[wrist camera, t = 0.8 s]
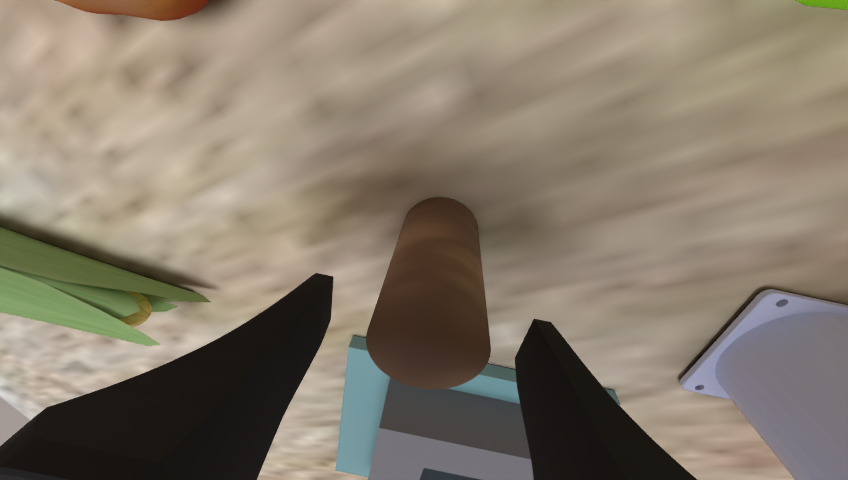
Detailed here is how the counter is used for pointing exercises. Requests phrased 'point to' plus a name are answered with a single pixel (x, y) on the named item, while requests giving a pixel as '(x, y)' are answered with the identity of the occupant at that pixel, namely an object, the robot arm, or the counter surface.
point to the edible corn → (79, 290)
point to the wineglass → (826, 3)
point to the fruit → (140, 7)
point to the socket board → (372, 399)
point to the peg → (433, 301)
